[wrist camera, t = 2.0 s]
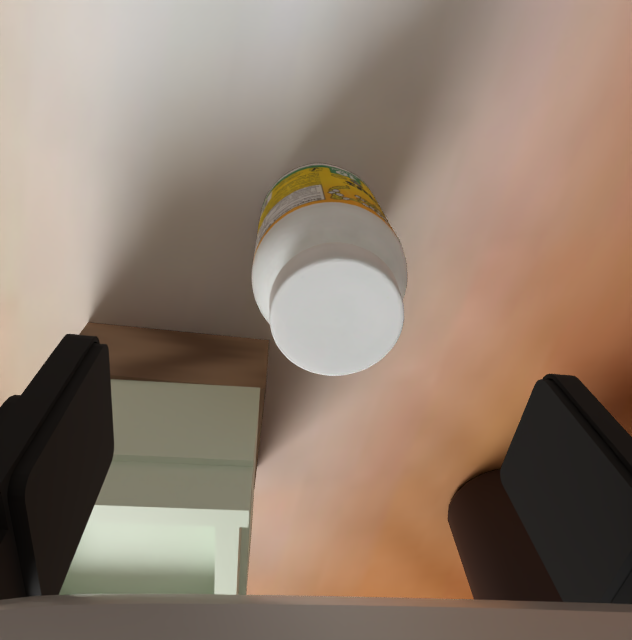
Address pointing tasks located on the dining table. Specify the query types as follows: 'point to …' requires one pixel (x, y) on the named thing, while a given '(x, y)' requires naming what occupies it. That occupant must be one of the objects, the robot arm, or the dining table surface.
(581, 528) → the robot arm
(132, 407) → the small green shelf
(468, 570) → the vinegar
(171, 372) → the block lower
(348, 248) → the supplement bottle
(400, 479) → the dining table surface
